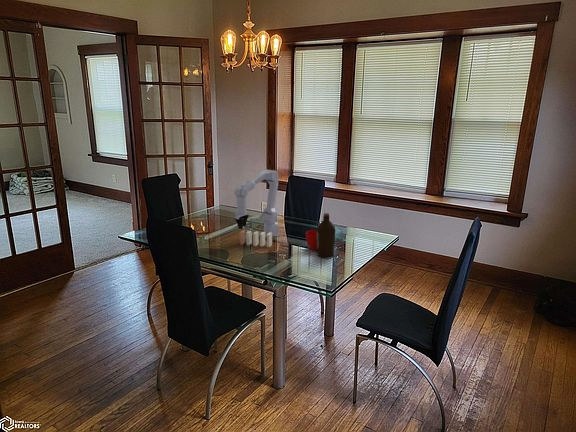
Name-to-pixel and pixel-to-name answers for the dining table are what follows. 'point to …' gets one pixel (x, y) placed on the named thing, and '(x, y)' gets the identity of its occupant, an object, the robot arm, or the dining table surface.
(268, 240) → the ivory domino
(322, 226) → the olive oil
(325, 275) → the dining table surface
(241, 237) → the terracotta domino
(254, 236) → the ivory domino
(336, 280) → the dining table surface
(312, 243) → the ceramic cup
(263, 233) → the ivory domino
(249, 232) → the ivory domino
